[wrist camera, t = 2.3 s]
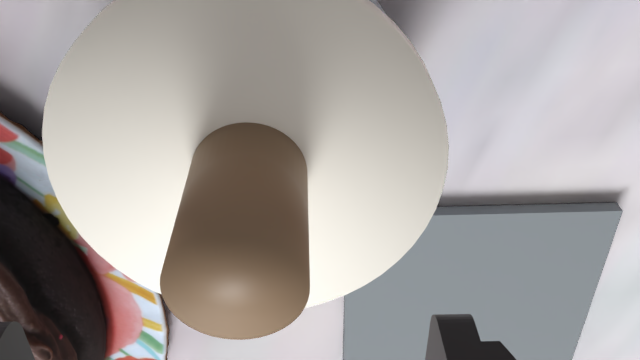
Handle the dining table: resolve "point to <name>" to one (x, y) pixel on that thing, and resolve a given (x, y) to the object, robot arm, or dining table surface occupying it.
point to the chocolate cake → (64, 272)
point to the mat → (488, 281)
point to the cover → (245, 152)
